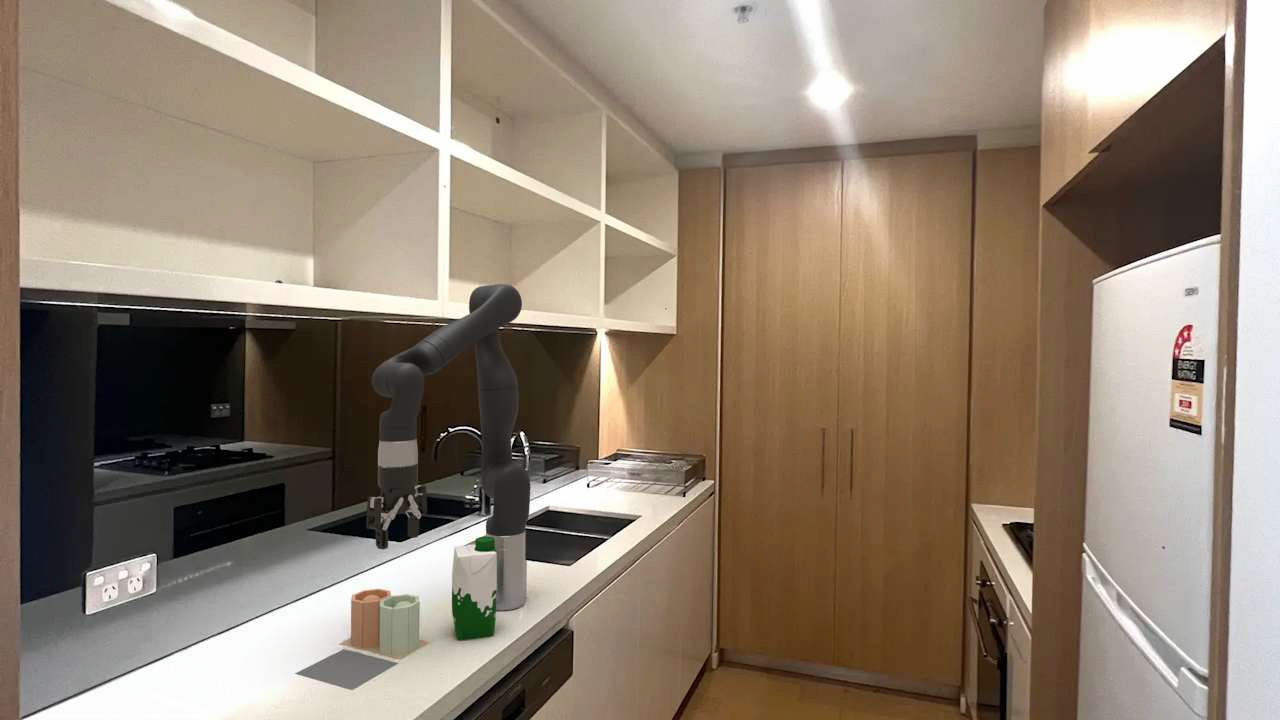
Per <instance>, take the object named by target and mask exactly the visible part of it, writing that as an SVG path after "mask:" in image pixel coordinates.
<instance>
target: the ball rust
mask: <svg viewBox="0 0 1280 720" xmlns="http://www.w3.org/2000/svg"><path fill="white" fill-rule="evenodd" d="M379 599H381V598H380V597H378V596H376V595H369V596H367V597H365V598H364V599H363V600H362V601H364V602H365V601H373V600H379Z"/></svg>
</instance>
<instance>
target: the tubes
mask: <svg viewBox="0 0 1280 720" xmlns="http://www.w3.org/2000/svg"><path fill="white" fill-rule="evenodd" d="M369 595H376V596H378V597H380V598H381V599H379V600H373V601H365V602H364V601H362V600H363V599H364V598H365V597H367V596H369ZM402 601H408V602H410V603H412V604H410V605H408V606H404V607H395V608H394V606H395V605H396V604H397V603H399V602H402ZM420 602H421V601H420V597H419V596H417V595H413V594H407V593H405V594H397V595H392V593H391V590H388V589H383V588H374V589H373V588H372V589H365V590H361V591H358V592H356V593H354V594H352V595H351V600H350V637H349V638H348V639H346V640H344V641H341V642H339V643H338V645H341V646H346V647H349V648H352V649H357V650H361V651H365V652H368V653H371V654H377V655H380V656H385V657H389V658H393V659H396V660H400V661H401V660H402V659H404V658H406V657H408V656H409V655H412V653H414V652H416V651H418V650H420V649H422V648H424V647H425V646H427V645H428V644H430V643H431V641H427V640H423V639H420V620H421V619H420V613H421V612H420V611H421V610H420V608H421V603H420Z"/></svg>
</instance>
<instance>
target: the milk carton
mask: <svg viewBox="0 0 1280 720" xmlns="http://www.w3.org/2000/svg"><path fill="white" fill-rule="evenodd" d="M453 550H454V551H453V552H454V553H453V561H452V570H451V571H452V572H451V573H452V574H451V614H452V620H453V625H454V629H455V635H456V640H457V641H458V642H462V641H469V640H476V639H483V638H490V637H494V636H495V627H496V617H497V610H496V594H497V554H496V548H495V538H494V537H488V536H486V535H485V536H480V537H477V538H475V544H467V545H462V546H459V545H458V546H454V549H453Z"/></svg>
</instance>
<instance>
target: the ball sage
mask: <svg viewBox="0 0 1280 720" xmlns="http://www.w3.org/2000/svg"><path fill="white" fill-rule="evenodd" d="M410 604H412V603H410V602H408V601H402V602H399V603H397V604H396V605H395V606H394V608H395V607H404V606H408V605H410Z"/></svg>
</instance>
